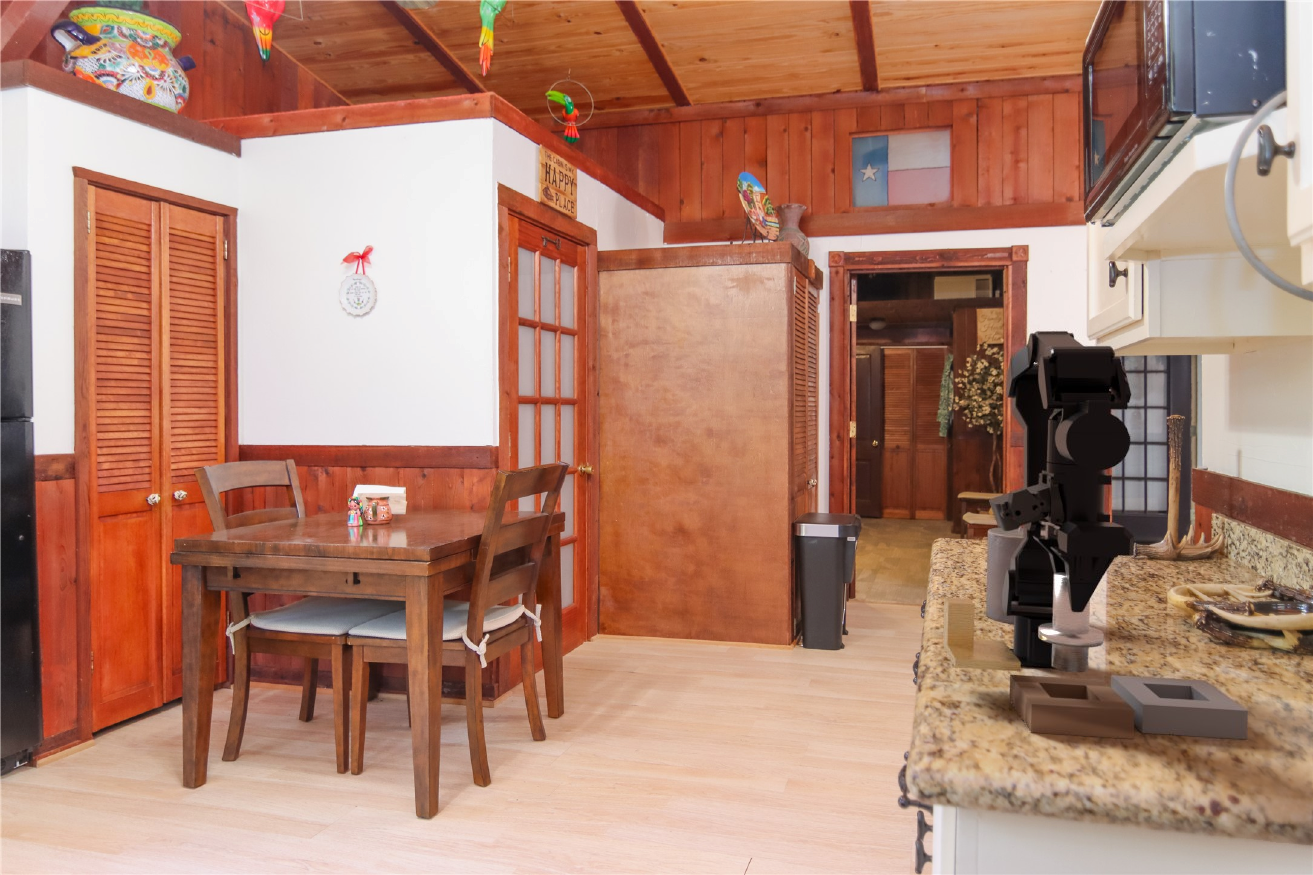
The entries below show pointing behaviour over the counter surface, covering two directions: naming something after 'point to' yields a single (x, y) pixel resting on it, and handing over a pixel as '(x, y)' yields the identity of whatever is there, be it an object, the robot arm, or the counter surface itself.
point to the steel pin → (1069, 631)
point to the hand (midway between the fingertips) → (1071, 607)
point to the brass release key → (972, 640)
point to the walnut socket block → (1071, 706)
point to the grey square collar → (1181, 707)
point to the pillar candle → (999, 569)
